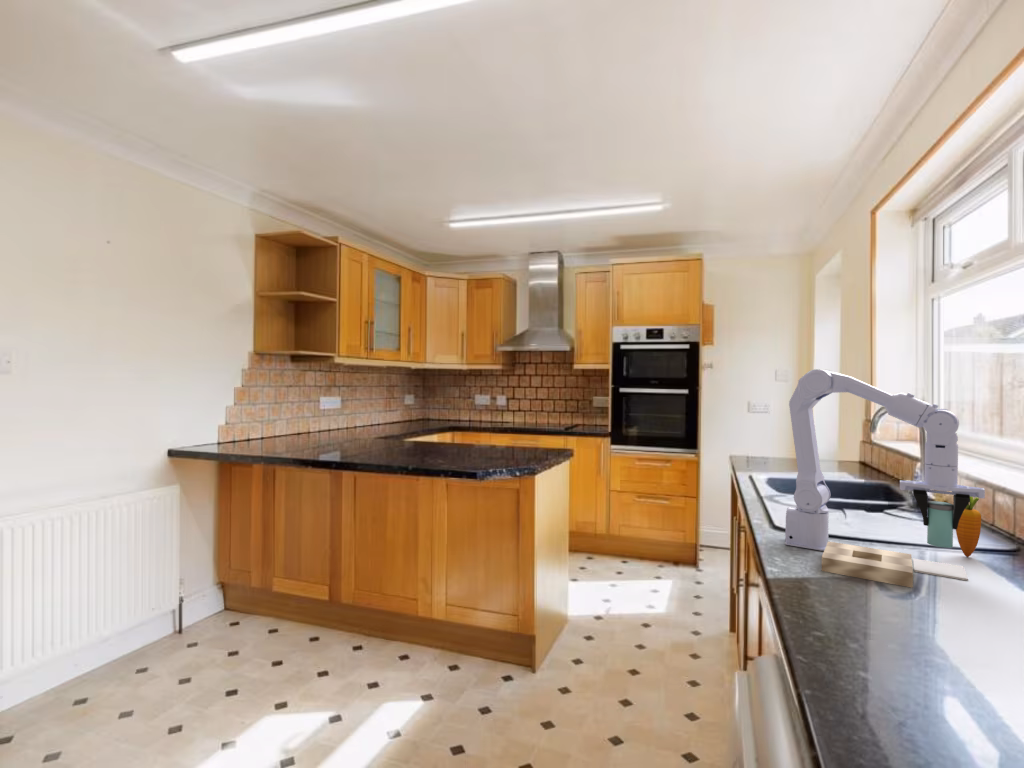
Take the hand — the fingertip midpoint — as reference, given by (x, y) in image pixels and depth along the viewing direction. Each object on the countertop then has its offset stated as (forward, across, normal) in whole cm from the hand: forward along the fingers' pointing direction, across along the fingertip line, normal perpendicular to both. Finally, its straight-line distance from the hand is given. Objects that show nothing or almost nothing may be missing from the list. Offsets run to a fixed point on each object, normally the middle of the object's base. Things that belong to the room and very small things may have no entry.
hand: (939, 526), depth 119 cm
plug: (+4, 0, 0) cm, 4 cm away
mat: (+10, 0, 0) cm, 10 cm away
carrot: (+10, +6, +15) cm, 19 cm away
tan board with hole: (+10, -13, -9) cm, 18 cm away
